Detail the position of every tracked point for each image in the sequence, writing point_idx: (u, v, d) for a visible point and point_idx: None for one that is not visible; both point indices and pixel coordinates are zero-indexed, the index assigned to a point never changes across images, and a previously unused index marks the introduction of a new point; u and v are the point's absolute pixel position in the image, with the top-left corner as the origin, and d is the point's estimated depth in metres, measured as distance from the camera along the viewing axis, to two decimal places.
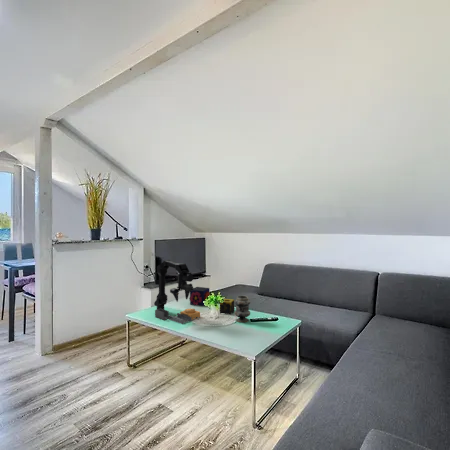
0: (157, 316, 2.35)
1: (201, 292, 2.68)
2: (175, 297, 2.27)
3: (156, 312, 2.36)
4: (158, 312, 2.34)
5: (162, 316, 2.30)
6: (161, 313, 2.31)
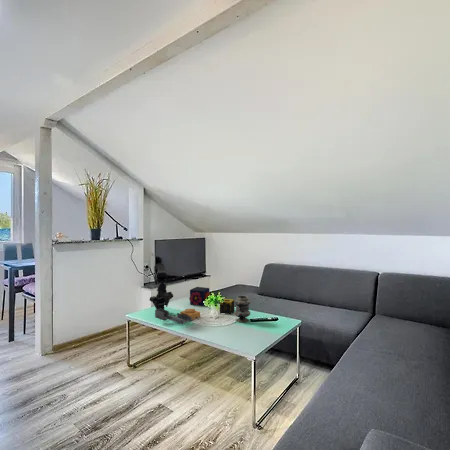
0: (157, 316, 2.35)
1: (201, 292, 2.68)
2: (155, 305, 2.31)
3: (156, 312, 2.36)
4: (158, 312, 2.34)
5: (162, 316, 2.30)
6: (161, 313, 2.31)
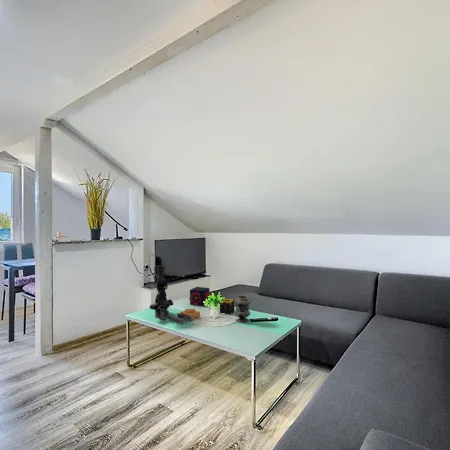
0: (157, 316, 2.35)
1: (201, 292, 2.68)
2: (157, 312, 2.33)
3: (156, 312, 2.36)
4: None
5: (162, 316, 2.30)
6: (161, 313, 2.31)
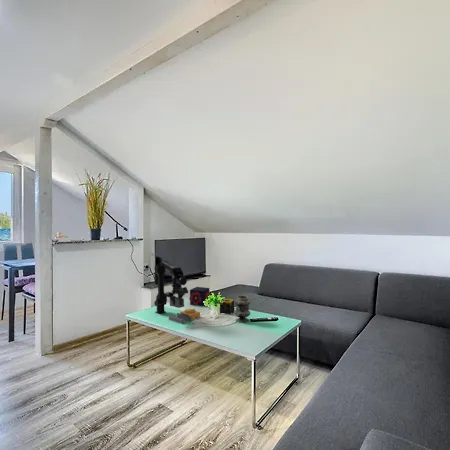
0: (172, 304, 2.30)
1: (201, 292, 2.68)
2: (172, 300, 2.28)
3: None
4: None
5: (177, 304, 2.25)
6: (176, 300, 2.26)
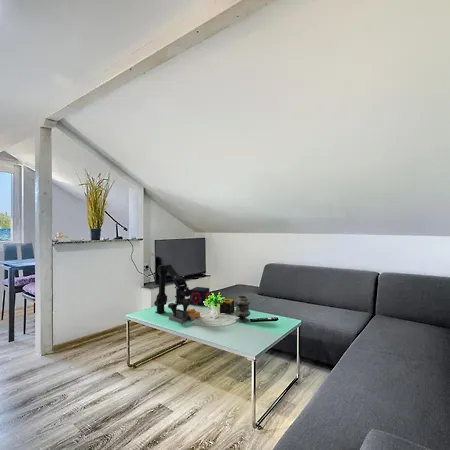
0: None
1: (201, 292, 2.68)
2: (173, 312, 2.26)
3: None
4: (176, 313, 2.28)
5: (181, 317, 2.25)
6: (180, 314, 2.26)
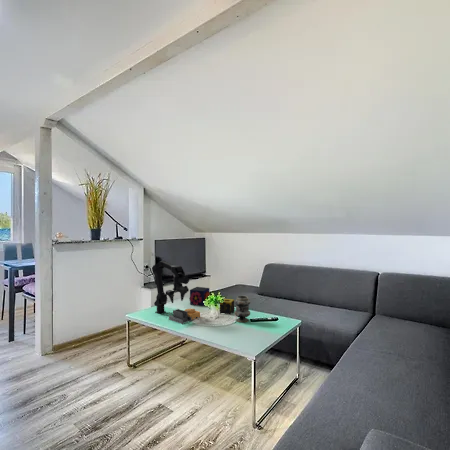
0: None
1: (201, 292, 2.68)
2: (170, 299, 2.33)
3: (174, 313, 2.30)
4: (176, 313, 2.28)
5: (181, 317, 2.25)
6: (180, 314, 2.26)
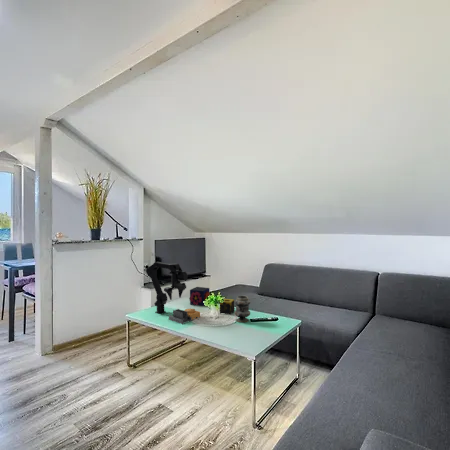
0: None
1: (201, 292, 2.68)
2: (169, 295, 2.39)
3: (174, 313, 2.30)
4: (176, 313, 2.28)
5: (181, 317, 2.25)
6: (180, 314, 2.26)
